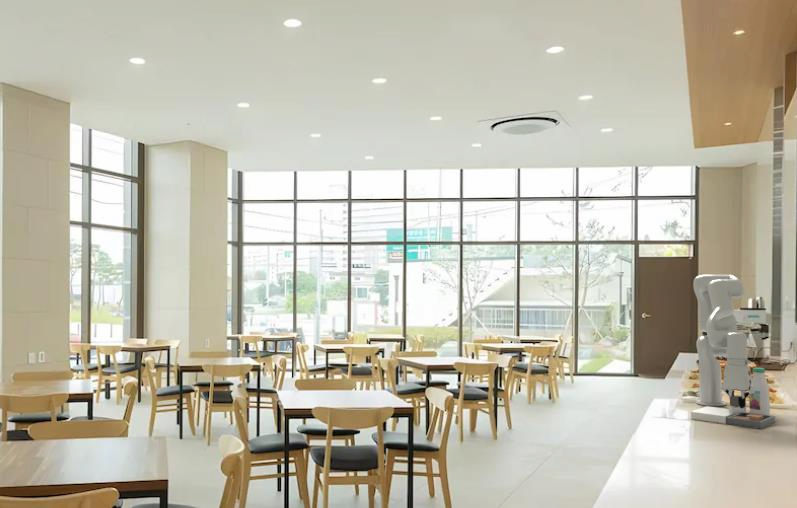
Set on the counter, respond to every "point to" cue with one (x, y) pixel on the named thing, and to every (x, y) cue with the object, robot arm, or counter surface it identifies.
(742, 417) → the tile
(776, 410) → the counter surface
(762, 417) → the tile
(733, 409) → the dark block with bar
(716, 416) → the offwhite board
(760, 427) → the tray
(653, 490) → the counter surface
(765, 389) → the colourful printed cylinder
